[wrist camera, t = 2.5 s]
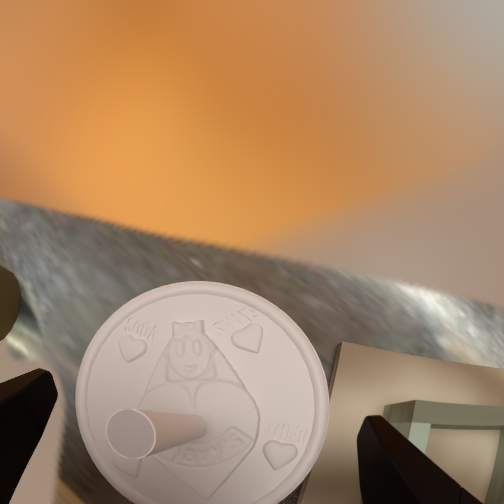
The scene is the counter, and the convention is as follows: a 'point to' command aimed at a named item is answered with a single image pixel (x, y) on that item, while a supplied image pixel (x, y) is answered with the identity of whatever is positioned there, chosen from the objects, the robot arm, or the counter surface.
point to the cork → (8, 301)
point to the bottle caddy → (412, 420)
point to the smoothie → (202, 398)
